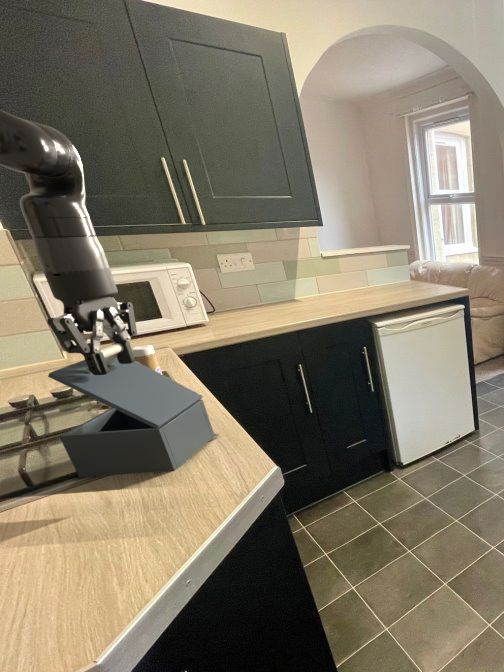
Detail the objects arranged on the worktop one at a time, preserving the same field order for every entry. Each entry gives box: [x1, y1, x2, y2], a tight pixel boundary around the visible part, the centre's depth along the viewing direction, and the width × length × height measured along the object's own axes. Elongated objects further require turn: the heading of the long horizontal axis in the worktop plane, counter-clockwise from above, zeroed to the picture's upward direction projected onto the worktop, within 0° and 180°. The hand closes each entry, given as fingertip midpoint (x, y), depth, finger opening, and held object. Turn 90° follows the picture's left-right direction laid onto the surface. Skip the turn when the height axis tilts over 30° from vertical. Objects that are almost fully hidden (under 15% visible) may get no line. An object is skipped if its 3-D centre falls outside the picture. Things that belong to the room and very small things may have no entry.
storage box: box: [59, 399, 216, 478], centre depth 77 cm, size 16×13×10 cm
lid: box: [47, 342, 203, 429], centre depth 73 cm, size 16×13×5 cm
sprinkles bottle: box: [131, 344, 163, 375], centre depth 107 cm, size 5×5×14 cm
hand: (114, 368), depth 72 cm, fingers closed on lid, 5 cm apart
